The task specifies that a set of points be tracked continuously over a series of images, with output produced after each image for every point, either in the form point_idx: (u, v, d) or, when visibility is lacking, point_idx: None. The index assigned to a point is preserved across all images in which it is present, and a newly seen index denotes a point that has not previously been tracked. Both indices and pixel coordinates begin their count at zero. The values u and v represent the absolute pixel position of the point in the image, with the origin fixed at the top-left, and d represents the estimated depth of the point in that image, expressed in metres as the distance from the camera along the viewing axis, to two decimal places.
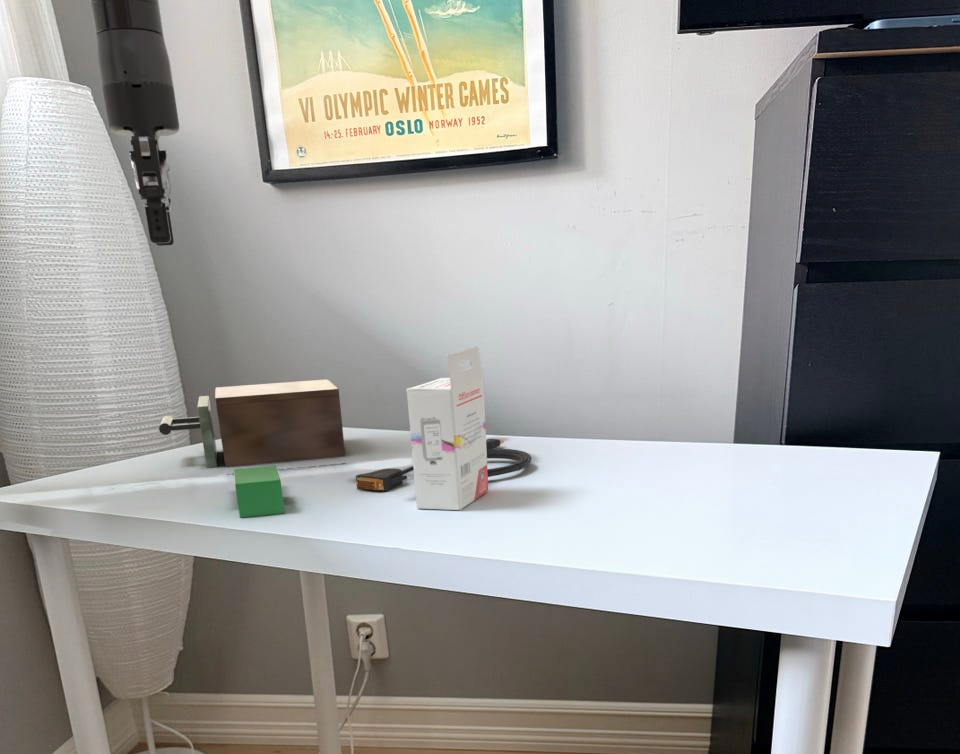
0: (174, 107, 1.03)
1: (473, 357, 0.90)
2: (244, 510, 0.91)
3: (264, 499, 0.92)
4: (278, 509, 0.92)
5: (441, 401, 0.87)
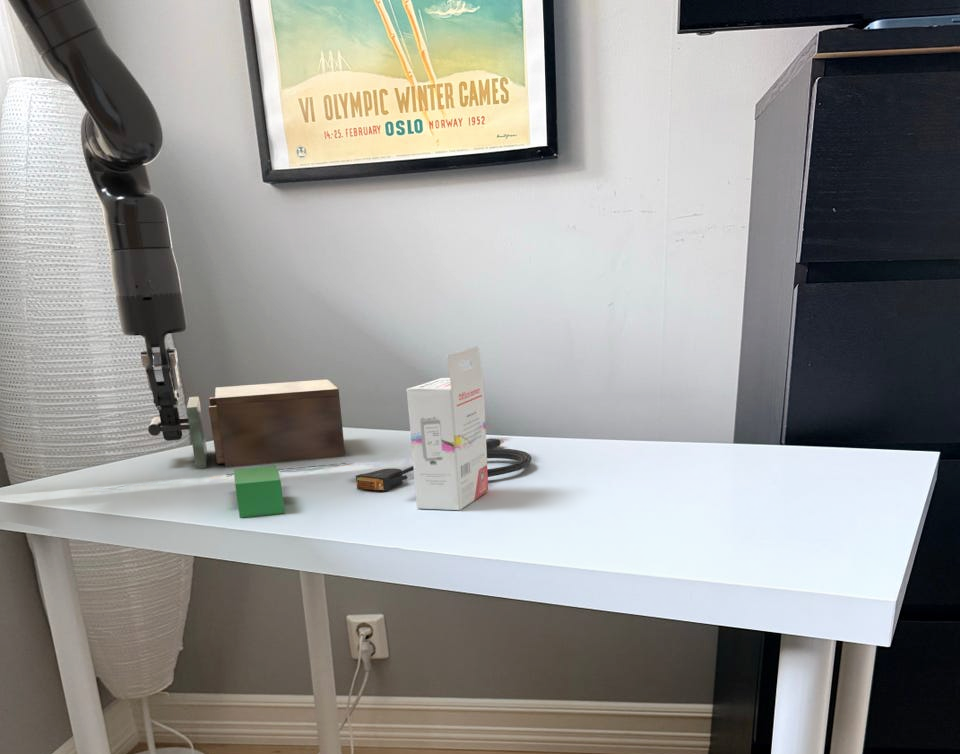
0: (182, 311, 1.10)
1: (473, 357, 0.90)
2: (244, 510, 0.91)
3: (264, 499, 0.92)
4: (278, 509, 0.92)
5: (441, 401, 0.87)
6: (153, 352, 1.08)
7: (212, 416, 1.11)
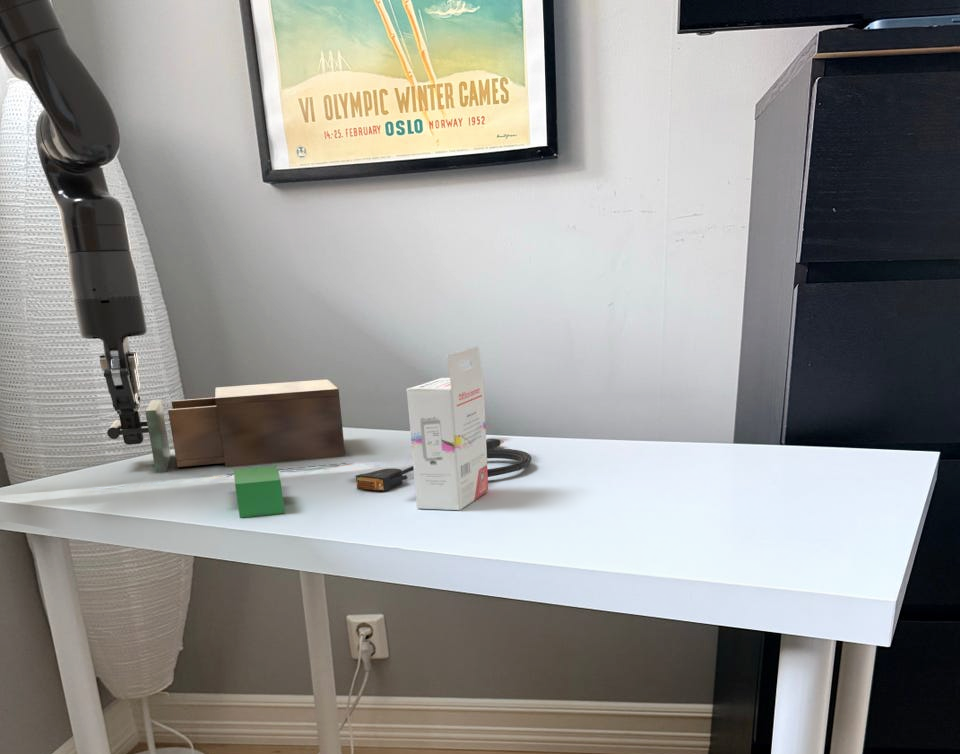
0: (141, 314, 1.09)
1: (473, 357, 0.90)
2: (244, 510, 0.91)
3: (264, 499, 0.92)
4: (278, 509, 0.92)
5: (441, 401, 0.87)
6: (111, 355, 1.07)
7: (172, 419, 1.10)
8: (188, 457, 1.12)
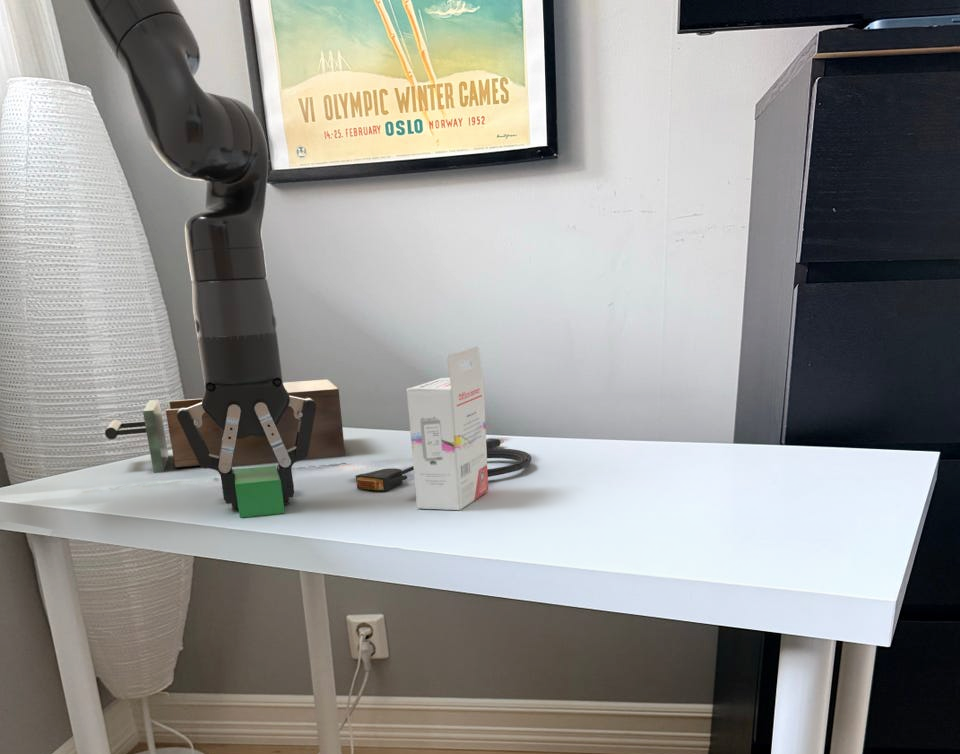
0: (228, 360, 0.87)
1: (473, 357, 0.90)
2: (244, 510, 0.91)
3: (264, 499, 0.92)
4: (278, 509, 0.92)
5: (441, 401, 0.87)
6: None
7: (169, 419, 1.10)
8: (186, 457, 1.12)
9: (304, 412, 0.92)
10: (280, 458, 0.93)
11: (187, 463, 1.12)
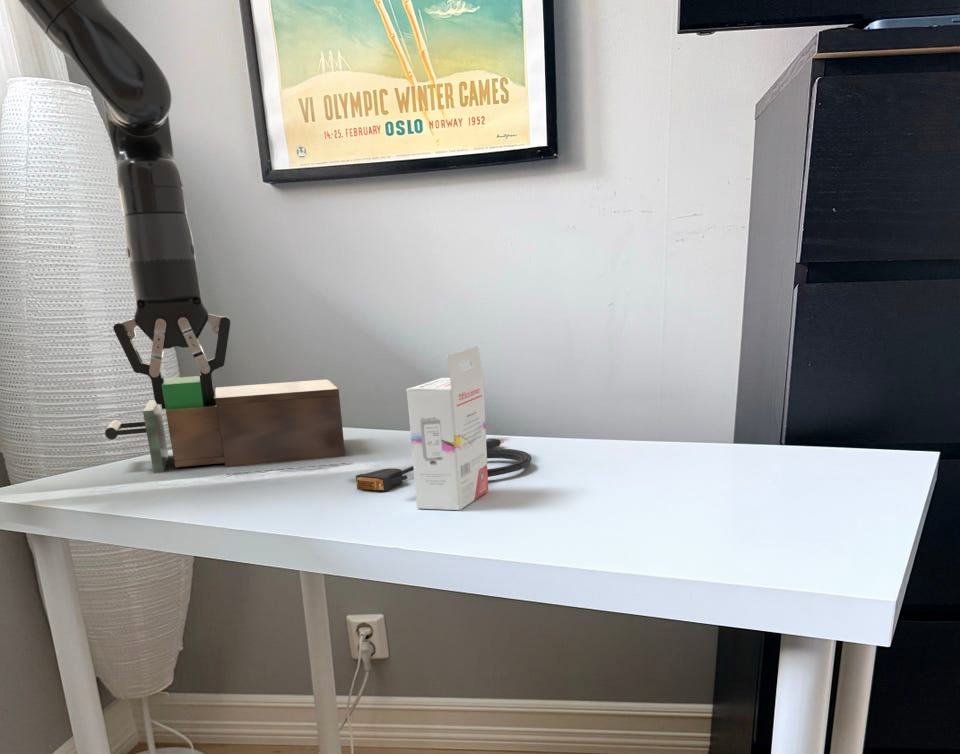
0: (153, 280, 1.06)
1: (473, 357, 0.90)
2: (170, 407, 1.11)
3: (186, 398, 1.11)
4: None
5: (441, 401, 0.87)
6: None
7: (169, 419, 1.10)
8: (186, 457, 1.12)
9: (220, 327, 1.12)
10: (201, 366, 1.13)
11: (187, 463, 1.12)
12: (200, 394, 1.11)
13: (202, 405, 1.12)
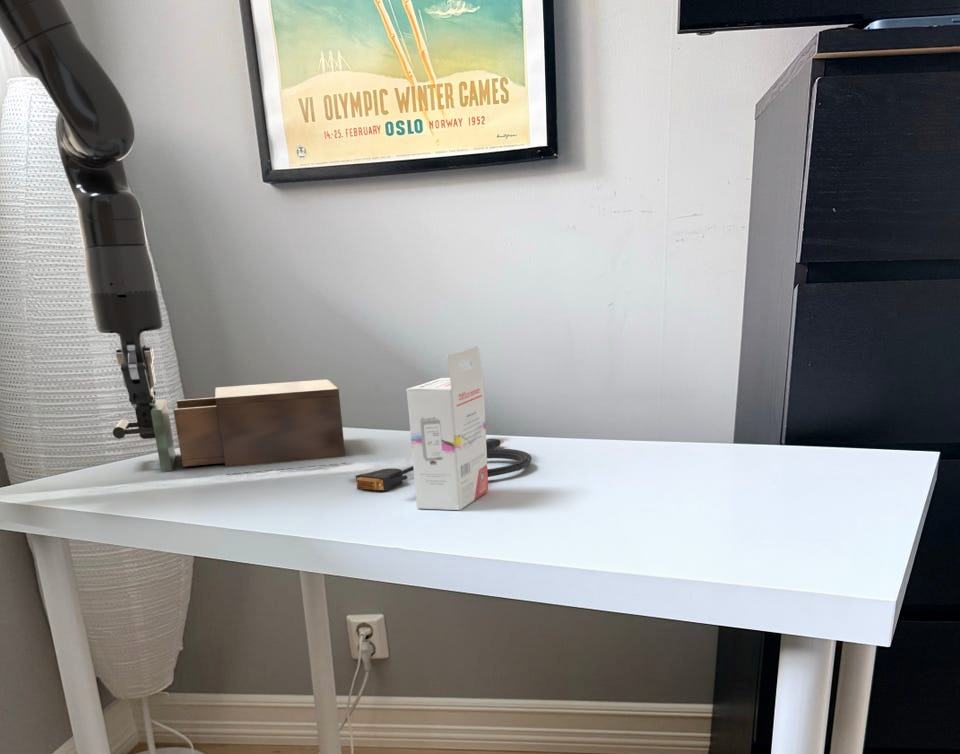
0: (158, 309, 1.09)
1: (473, 357, 0.90)
2: None
3: None
4: None
5: (441, 401, 0.87)
6: (128, 350, 1.08)
7: (177, 419, 1.10)
8: (193, 457, 1.12)
9: None
10: (153, 396, 1.14)
11: (195, 462, 1.13)
12: None
13: None
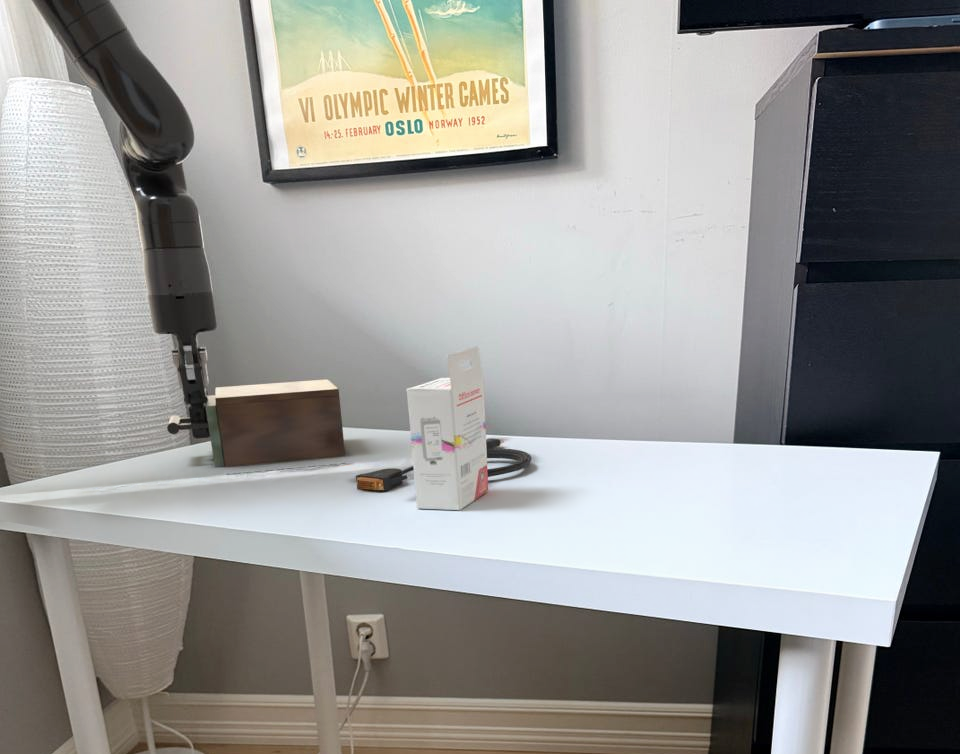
0: (213, 310, 1.11)
1: (473, 357, 0.90)
2: None
3: None
4: None
5: (441, 401, 0.87)
6: (185, 350, 1.09)
7: None
8: None
9: None
10: None
11: None
12: None
13: None
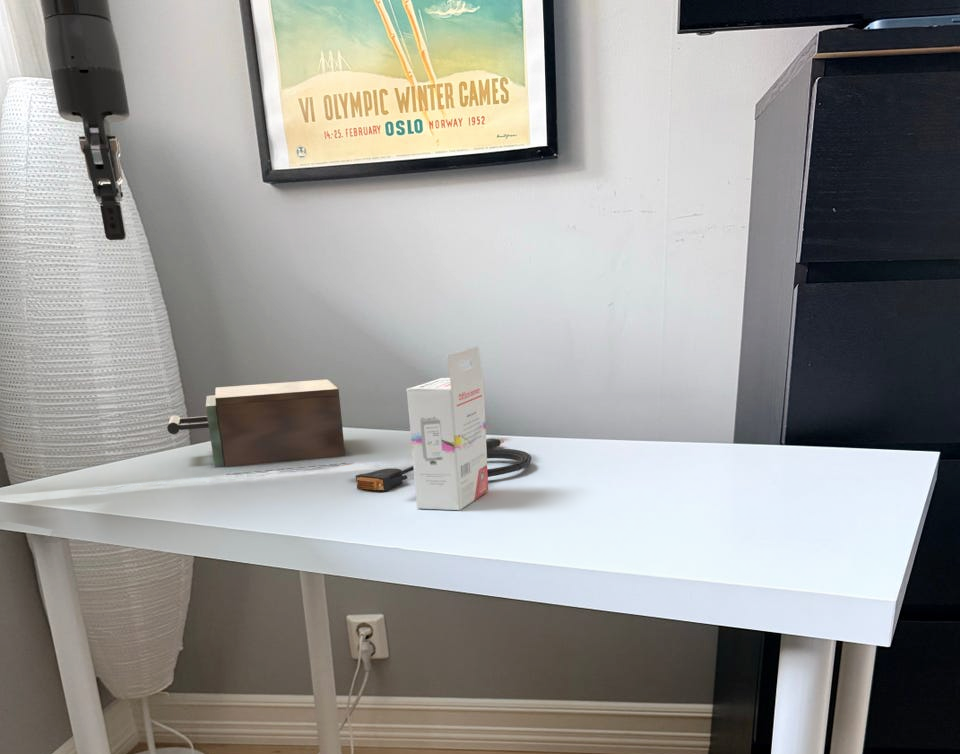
0: (123, 93, 1.03)
1: (473, 357, 0.90)
2: None
3: None
4: None
5: (441, 401, 0.87)
6: (91, 132, 1.02)
7: None
8: None
9: None
10: (120, 194, 1.08)
11: None
12: None
13: None
